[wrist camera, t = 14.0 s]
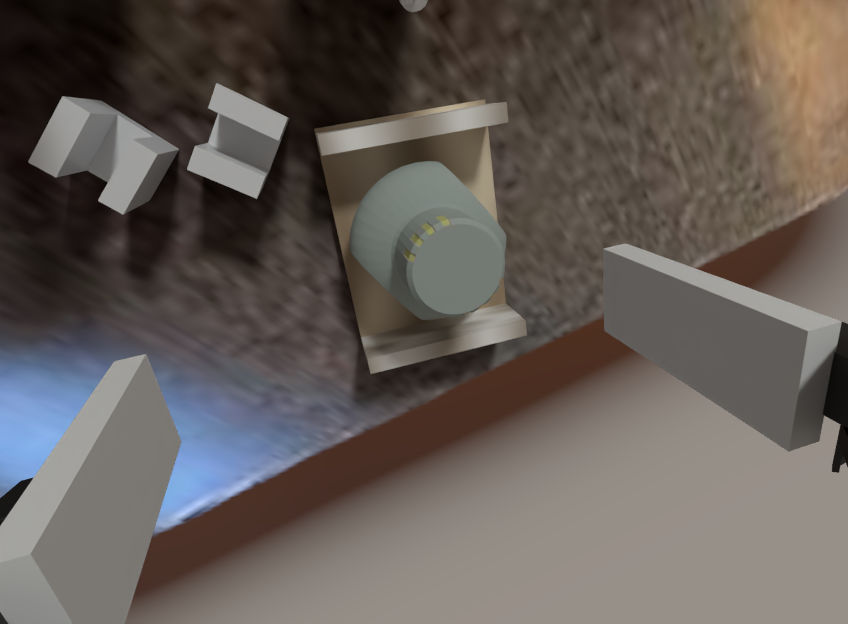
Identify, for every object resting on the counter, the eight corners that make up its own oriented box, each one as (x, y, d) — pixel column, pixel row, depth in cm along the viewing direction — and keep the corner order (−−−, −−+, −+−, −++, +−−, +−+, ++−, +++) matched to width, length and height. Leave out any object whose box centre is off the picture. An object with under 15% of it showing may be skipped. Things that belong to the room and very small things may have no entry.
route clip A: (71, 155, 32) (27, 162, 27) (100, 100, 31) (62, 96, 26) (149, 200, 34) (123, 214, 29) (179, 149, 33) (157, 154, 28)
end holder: (363, 349, 41) (371, 377, 37) (313, 128, 35) (316, 129, 30) (503, 315, 43) (527, 338, 38) (480, 99, 37) (506, 97, 32)
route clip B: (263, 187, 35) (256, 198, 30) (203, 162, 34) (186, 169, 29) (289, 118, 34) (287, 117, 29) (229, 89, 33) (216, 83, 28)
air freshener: (326, 223, 36) (336, 257, 27) (409, 138, 35) (447, 144, 26) (429, 319, 40) (467, 376, 31) (504, 245, 40) (565, 282, 31)
